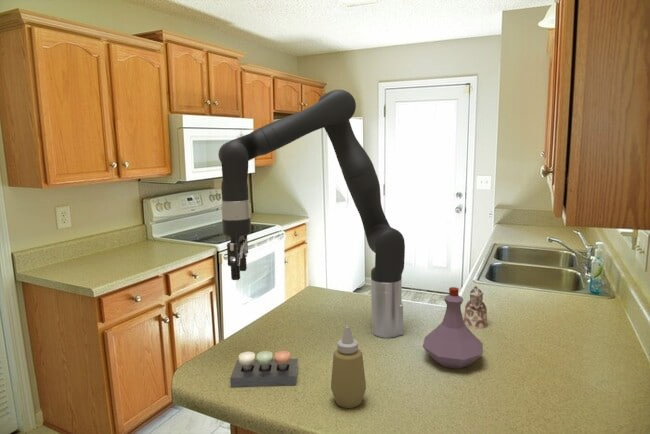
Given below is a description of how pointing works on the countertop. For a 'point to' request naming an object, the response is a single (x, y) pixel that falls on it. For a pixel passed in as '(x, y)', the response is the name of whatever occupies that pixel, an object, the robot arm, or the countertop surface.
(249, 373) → the panel
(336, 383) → the squeeze bottle
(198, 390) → the countertop surface
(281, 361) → the terracotta button
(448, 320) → the flask
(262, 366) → the sage button
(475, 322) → the figurine
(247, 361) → the ivory button
